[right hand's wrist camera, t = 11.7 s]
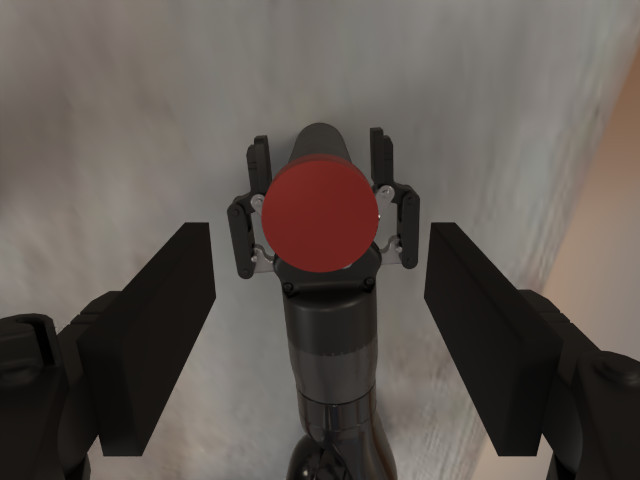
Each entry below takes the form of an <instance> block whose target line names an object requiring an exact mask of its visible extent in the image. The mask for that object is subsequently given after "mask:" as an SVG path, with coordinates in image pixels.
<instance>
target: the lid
mask: <svg viewBox="0 0 640 480" xmlns="http://www.w3.org/2000/svg"><path fill="white" fill-rule="evenodd" d="M261 221H262V228H263V232H264V235H265V237H266V240H267V241H268V243H269V245H270V246H271V248H272V249H273V251H274V252H275V253H276V254H277V255H278V256H279V257H280V258H281V259H283V260H284V261H285V262H287V263H288V264H290V265H292V266H294V267H296V268H299V269H302V270H305V271H310V272H330V271H335V270H338V269H341V268H344V267H346V266H348V265H350V264H352V263H353V262H355V261H356V260H357V259H359V258H360V257H361V256H362V255H363V254H364V253H365V252H366V250H367V249H368V248H369V247H370V245H371V243H372V242H373V239H374V237H375V235H376V232H377V228H378V222H379V211H378V205H377V201H376V198H375V195H374V193H373V191H372V189H371V186H370V184H369V182H368V181H367V179H366V177H365V176H364V175H363V173H362V172H361V171H360V170H359V169H358V168H357V167H356V166H354V165H353V164H352V163H350V162H349V161H347V160H345V159H343V158H340V157H338V156H334V155H330V154H311V155H306V156H303V157H299V158H297V159H295V160H293V161H291V162H290V163H288V164H287V165H286V166H284V167H283V168H282V169H281V170H280V171H279V172H278V173H277V175H276V176H275V177H274V179H273V180H272V182H271V185H270V187H269V189H268V191H267V193H266V195H265V198H264V201H263V205H262V210H261Z"/></svg>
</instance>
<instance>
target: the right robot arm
mask: <svg viewBox="0 0 640 480" xmlns="http://www.w3.org/2000/svg"><path fill="white" fill-rule="evenodd" d="M215 299H216V291H215V281H214V271H213V261H212V251H211V241H210V231H209V222H185V223H184V224H183V225H182V226H181V227H180V229H179V230H178V231H177V232H176V233H175V234H174V235H173V236H172V237H171V238H170V239H169V240H168V242H167V243H166V244H165V245H164V246H163V247H162V248H161V249H160V250H159V251H158V252H157V253H156V255H155V256H154V257H153V258H152V259H151V260H150V261H149V262H148V263H147V264H146V265H145V266H144V267H143V269H142V270H141V271H140V272H139V273H138V274H137V275H136V276H135V277H134V278H133V279H132V280H131V282H130V283H129V284H128V285H127V286H126V287H125V288H124V289H123V290H122V291H109V292H107V293H106V294H104V295H102V296H100V297H98V298H96V299H95V300H93V301H91V302H90V303H89V304H88V305H87V306H86V307H85V308H84V309H83V310H82V311H81V312H80V315H77V316H76V317H75V318H74V319H73V320H72V321H71V322H70V325H67V326H66V327H65V328H64V329H63V330H62V331H61V332H60V333H59V334H58V335H56V331H55V327H54V323H53V319H51V318H50V317H48V316H47V315H42V314H35V313H33V314H20V315H15V316H11V317H6V318H2V319H0V480H90V473H91V469H90V462H89V458H88V454H87V452H88V450H89V449H90V447H91V445H92V444H93V442H94V441H95V439H96V437H97V436H98V435H99V439H100V443H101V447H102V451H103V456H142V454H143V452H144V450H145V448H146V446H147V444H148V441H149V439H150V437H151V435H152V433H153V431H154V429H155V427H156V424H157V422H158V420H159V418H160V416H161V414H162V412H163V410H164V407H165V405H166V403H167V401H168V399H169V397H170V395H171V393H172V390H173V388H174V386H175V384H176V382H177V380H178V378H179V376H180V373H181V371H182V369H183V367H184V365H185V363H186V361H187V358H188V356H189V354H190V352H191V350H192V348H193V346H194V344H195V341H196V339H197V337H198V335H199V333H200V331H201V329H202V327H203V324H204V322H205V320H206V318H207V316H208V314H209V312H210V310H211V307H212V305H213V303H214V301H215ZM424 299H425V301H426V303H427V305H428V307H429V310H430V312H431V314H432V316H433V318H434V320H435V322H436V324H437V327H438V329H439V331H440V333H441V335H442V337H443V339H444V341H445V344H446V346H447V348H448V350H449V352H450V354H451V356H452V358H453V361H454V363H455V365H456V367H457V369H458V371H459V373H460V376H461V378H462V380H463V382H464V384H465V386H466V388H467V390H468V393H469V395H470V397H471V399H472V401H473V403H474V405H475V407H476V410H477V412H478V414H479V416H480V418H481V420H482V422H483V424H484V427H485V429H486V431H487V433H488V435H489V437H490V439H491V441H492V444H493V446H494V448H495V450H496V452H497V454H498V456H537V451H538V447H539V443H540V439H541V435H542V434H543V435H544V437H545V438H546V440H547V442H548V443H549V445H550V446H551V448H552V450H553V454H552V458H551V462H550V466H549V470H548V474H547V477H546V480H640V362H639V361H637V360H634V359H632V358H630V357H628V356H625V355H621V354H617V353H614V352H610V351H601V350H600V349H599V348H598V347H597V346H596V345H595V344H594V343H593V342H592V341H590V340H589V339H588V338H587V337H586V336H585V335H584V334H583V333H582V332H581V331H580V330H579V329H578V328H577V327H576V326H575V325H574V324H573V323H570V320H569V319H568V318H567V317H566V316H565V315H564V314H563V313H560V310H559V309H558V308H557V307H556V306H555V305H554V304H553V303H552V302H551V301H549V300H548V299H547V298H545V297H543V296H541V295H539V294H537V293H536V292H534V291H532V290H517V289H516V288H515V287H514V286H513V285H512V284H511V283H510V282H509V280H508V279H507V278H506V277H505V276H504V275H503V274H502V273H501V272H500V271H499V270H498V269H497V267H496V266H495V265H494V264H493V263H492V262H491V261H490V260H489V259H488V258H487V257H486V256H485V255H484V253H483V252H482V251H481V250H480V249H479V248H478V247H477V246H476V245H475V244H474V243H473V242H472V240H471V239H470V238H469V237H468V236H467V235H466V234H465V233H464V232H463V231H462V230H461V229H460V227H459V226H458V225H457V224H456V223H455V222H431V230H430V241H429V251H428V261H427V271H426V281H425V291H424Z"/></svg>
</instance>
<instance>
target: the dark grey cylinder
mask: <svg viewBox="0 0 640 480" xmlns="http://www.w3.org/2000/svg"><path fill="white" fill-rule="evenodd" d="M311 154H330V155H334V156H338V157H340V158H343V159H345V160H347V161H349V162H350V163H352V162H351V159H350V157H349V154H348V151H347V148H346V146H345V143H344V140H343V138H342V136H341V134H340V133H339V131H338V130H337V129H336V128H334V127H333V126H331V125H329V124H325V123H315V124H311V125H309V126H307V127H306V128H305V129H303V130H302V131H301V133H300V134H299V136H298V138H297V140H296V143H295V146H294V149H293V151H292V154H291V157H290V159H289V162H288V163H290V162H291V161H293V160H295V159H297V158H299V157H303V156H306V155H311Z"/></svg>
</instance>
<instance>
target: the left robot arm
mask: <svg viewBox="0 0 640 480" xmlns="http://www.w3.org/2000/svg"><path fill="white" fill-rule="evenodd" d="M370 152H371V178H372V180H373V182H374V184H373V186H372V187H371V189H372V191H373V193H374V195H375V198H376V201H377V205H378V211H379V220H380V217H381V215H382V214H383V212H384V211H385V209H386V208H387V206H388V205H389V203H390V202H392V203H396V204H397V235H393V236H391V237H390V238H389V240H388V244H387V246H386V247H385V248H383V249H379V247H378V246H377V245H376V243H375V242H374V241H373V242H372V243H371V245H370V247H369V248H368V249H367V250H366V252H365V253H364V254H363V255H362V256H361V257H360V258H359V259H357V260H356V261H355V262H353V263H352V264H350V265H348V266H346V267H344V268H341V269H338V270H335V271H330V272H310V271H305V270H302V269H299V268H296V267H294V266H292V265H290V264H288V263H287V262H285V261H284V260H283V259H281V258H280V257H279V256H278V255H277V254H276V253H275V255H274V256H269V255H268V254H266V252H265V250H264V248H263V246H261V245H259V244H255V238H254V232H253V226H252V219H251V213H253V212H255V211H256V212H257V213H258V214H259V215H260V216H261V210H262V205H263V201H264V198H265V195H266V193H267V191H268V189H269V187H270V185H271V182H272V172H271V163H270V155H269V146H268V138H267V135H262V136H256V137H255V138H254V145H251V146H250V147H249V148H248V151H247V155H246V156H247V163H248V171H249V179H250V186H251V191H250V192H249V193H247V194H245V195H243V196H237V197H236V198H235V199H234V200H233V203H232V204H231V205H230V206H229V208H228V210H227V215H228V220H229V226H230V232H231V237H232V243H233V249H234V254H235V260H236V266H237V271H238V275H239V276H240V277H241V278H243V279H249V278H251V277H252V276H253V273H260V272H272V271H274V272H275V273H276V275H277V276H278V277H279V279H280V281H281V285H282V294H283V302H284V311H285V320H286V328H287V337H288V345H289V354H290V361H291V366H292V369H293V373H294V376H295V381H296V389H297V398H298V407H299V415H300V420H301V424H302V427H303V430H304V431H305V433H306V435H304V436H303V437H302V438H301V439H300V440H299V442H298V443H297V445H296V446H295V448H294V450H293V453H292V456H291V459H290V463H289V467H288V472H287V476H286V480H398V477H397V469H396V463H395V459H394V456H393V453H392V450H391V447H390V445H389V442H388V440H387V437H386V434H385V432H384V429H383V426H382V423H381V420H380V418H379V415H378V412H377V408H376V378H375V376H376V366H377V358H378V341H377V303H376V274H377V271H378V269H379V268H380V266H381V264H400V263H402V265H403V266H404V267H405V268H407V269H412V268H414V267H415V266H416V265H417V263H418V242H419V211H420V198H419V196H418V195H417V193H416V192H415V191H414V190H413V189H412V187H411V186H409V185H402V184H398V183H396V182H394V179H393V144H392V141H391V139H390V137H388V136H387V135H384V136H383V129H381V128H380V127H378V128H370ZM378 223H379V222H378Z"/></svg>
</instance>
